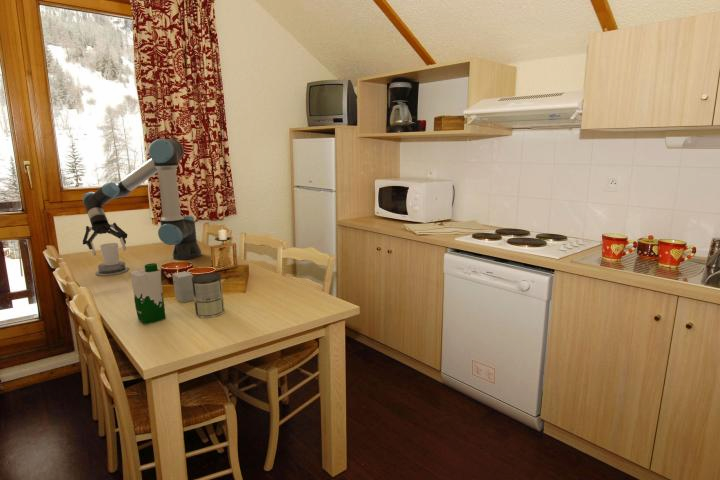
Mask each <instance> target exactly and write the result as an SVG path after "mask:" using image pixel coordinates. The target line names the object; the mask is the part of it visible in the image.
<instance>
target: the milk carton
mask: <svg viewBox="0 0 720 480" xmlns="http://www.w3.org/2000/svg"><path fill="white" fill-rule="evenodd" d="M130 279H131V285H132V286H131V287H132V292H133V298H134V306H135V311H136V314H137V319H138V321H140V322H141V323H143V324H144V325H149V324H152V323H153V324H154V323H156V322H159V321H163V320H166V318H167V317H166V309H165V308H166V307H165V299H164V294H163V293H164V292H163V286H162V271H161V270H159V269H158V263H154V262H153V263H152V262H151V263H147V264H144V269H138V270H136V271H131V272H130Z"/></svg>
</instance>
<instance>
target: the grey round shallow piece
mask: <svg viewBox="0 0 720 480" xmlns="http://www.w3.org/2000/svg"><path fill="white" fill-rule="evenodd" d="M119 262H120V263H119V264H116V265H105V264H104V262H102V263H100V264H98V265H97V268H98V270H97V271H95V276H99V277H108V276H117V275H121V274H124V273H127V272H128V270H130V267H128V266H126V262H125V260H124V261H123V260H119Z"/></svg>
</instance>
